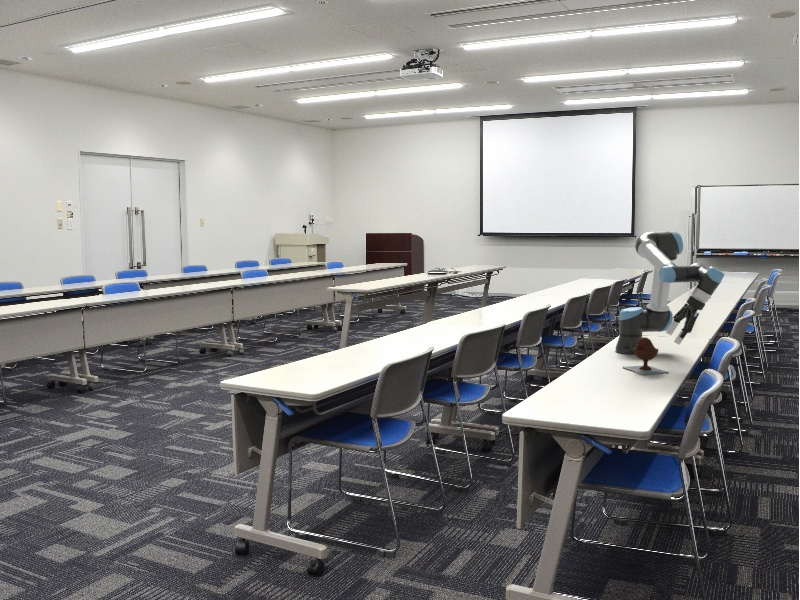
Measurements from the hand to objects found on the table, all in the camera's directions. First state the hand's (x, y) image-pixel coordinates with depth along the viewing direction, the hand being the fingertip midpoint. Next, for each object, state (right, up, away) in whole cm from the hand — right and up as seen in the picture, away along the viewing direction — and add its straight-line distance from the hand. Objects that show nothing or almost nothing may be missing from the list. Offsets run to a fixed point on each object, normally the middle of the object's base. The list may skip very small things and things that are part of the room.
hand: (672, 338), depth 327 cm
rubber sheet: (-12, -15, +1) cm, 19 cm away
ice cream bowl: (-12, -14, +1) cm, 19 cm away
